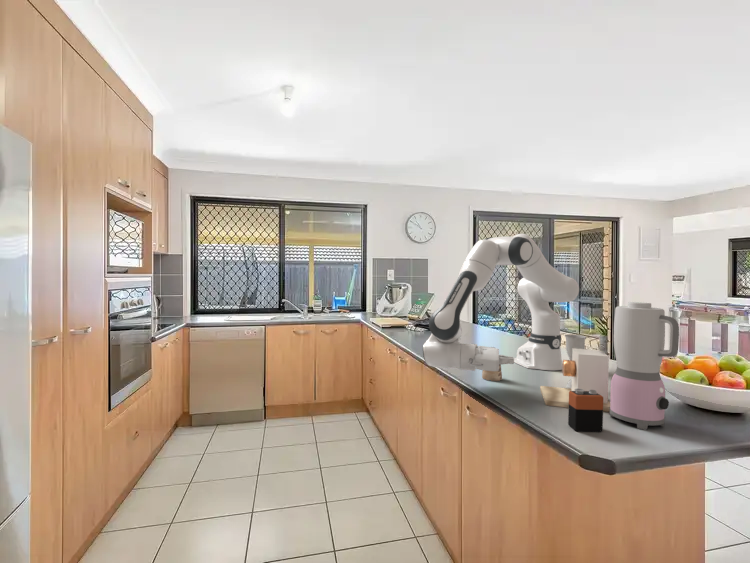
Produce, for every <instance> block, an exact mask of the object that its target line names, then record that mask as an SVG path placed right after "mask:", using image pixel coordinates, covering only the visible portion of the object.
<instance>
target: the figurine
mask: <svg viewBox="0 0 750 563" xmlns="http://www.w3.org/2000/svg"><path fill="white" fill-rule="evenodd" d="M491 347H492V348H496V347H494V346H491ZM481 373H482V374H481V377H482V379H483V380H485V379H486V380H485V381H489V380H491V381H490V382H500V380H501V381H502V379H503V372H502V364H499V371H486V370H481Z"/></svg>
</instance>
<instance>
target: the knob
mask: <svg viewBox="0 0 750 563" xmlns="http://www.w3.org/2000/svg"><path fill="white" fill-rule="evenodd" d="M561 372H562V376H563V377H571V378H572V377H575V373H576V365H575V361H574V360H570V359H563V360H562V370H561Z"/></svg>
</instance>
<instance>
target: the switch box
mask: <svg viewBox="0 0 750 563" xmlns="http://www.w3.org/2000/svg"><path fill="white" fill-rule="evenodd" d="M572 360H574V361H575V365H576V373H575V377H571V380H572V387H571V388H570V389H571V391H575V389H583V390H584V391H590V390H596V393H598V394H600V395H601V396H603V403H606V404H608V401H609V395H608V394H609V366H610V364H609V362H610V361H609V360H610V358H609V355H608V354H606V353H605V352H604V351H603V350H600V349H589V348H588V349H587V348H585V349H576V348H572Z"/></svg>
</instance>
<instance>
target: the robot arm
mask: <svg viewBox="0 0 750 563" xmlns="http://www.w3.org/2000/svg"><path fill="white" fill-rule="evenodd" d="M497 266H515V267H516V268H517V270H518V272H519V273H520V275H521V276H522V278H521V279H520V280H519V281H518V284H517V293H518V295H519V298H522V299H523V300H524V302H525V303H526V305H527V306H528V309H529V311H530V316H531V333H527V334H526V335H527V337H528V340H527V342H525V343H523V344H522V345H521V346H519V347H518V348H517V351H516V357H514V356H508V355H504V354H500V349H499V348H497V347H495V348H492V347H493V346H485V345H478V344H477V343H461V342H460V341H461V338H462V335H463V329H462V325H461V322H460V321H461V318H460V317H461V313H462V311H463V309H464V307H465V305H466V303H467V301H468V300H469V298H470V296H471V294H472V293H474V292H478V291H482V290H483V289H484V288H485V287H486V286H487V284H488V283H489V281H490V279H491V278H492V275H493V274H494V271H495V268H496V267H497ZM579 292H580V286H579V283H578V282H577V279H575V278H573V277H570V276H568V275H566V274H564V273H562V272H560V271H559V270H558V269H556V268H554V266H552V265H551V263H549V262H548V259H546V257H545V255H544V254H543V252H542V251H541V249H540V247H539V246H538V244H537V243H536V242H535V241H534V240H533V238H532V237H531V236H530V235H528V234H526V233H518V234H515V235H513V236H506V235H505V236H504V235H503V236H495V237H493V236H491V237H486V238H484V239H480V240H478V241H476V242H475V244H473V247H471V249H470V251H469V252H468V253H467V255H466V258H465V259H464V261H463V263H462V265H461V267H460V270H459V273H458V276H457V277H456V281H455V282H454V283H453V286H452V287H451V289H450V291H449V292H448V295H447V296H446V298H445V300H444V302H443V303H442V305H441V306H439V307H438V308H437V309H436V310H434V312H433V313H432V314H431V315H430V318H428V327H429V328H428V329H429V331H430V332H431V334H430V336H429V337H428V338H427V340H426V341H425V342H424V343H423V344H422V356H423V361H424V362H425V363H426V365H428V366H430V367H432V368H438V369H448V370H449V369H457V370H460V371H472V372H473V371H474V372H475V371H476V370H479V371H480V370H481V371H483V370H486V371H499V364H501V365H508V364H510V365H514V364H517V365H520V366H521V367H524V368H526V369H531V370H532V369H534V370H541V371H562V363H563V360H562V349H561V345H562V335H561V316H560V315H559V314H558V313H557V312H556V311H554V310H553V309H552V308H551V306H550V303H560V304H561V303H568V302H569V303H570V302H573V301H575V300H576V299H577V297H578V295H579Z"/></svg>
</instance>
